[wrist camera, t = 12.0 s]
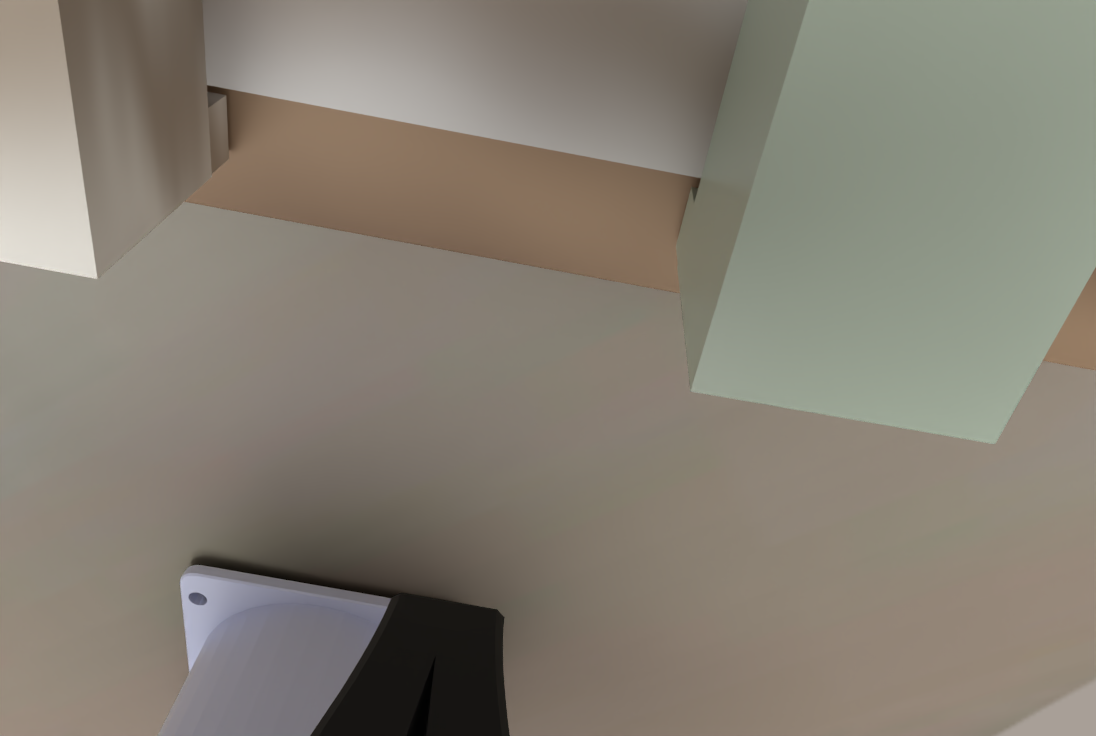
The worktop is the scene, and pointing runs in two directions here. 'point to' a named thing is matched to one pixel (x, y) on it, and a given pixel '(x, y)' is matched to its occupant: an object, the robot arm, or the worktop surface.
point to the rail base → (375, 127)
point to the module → (893, 208)
